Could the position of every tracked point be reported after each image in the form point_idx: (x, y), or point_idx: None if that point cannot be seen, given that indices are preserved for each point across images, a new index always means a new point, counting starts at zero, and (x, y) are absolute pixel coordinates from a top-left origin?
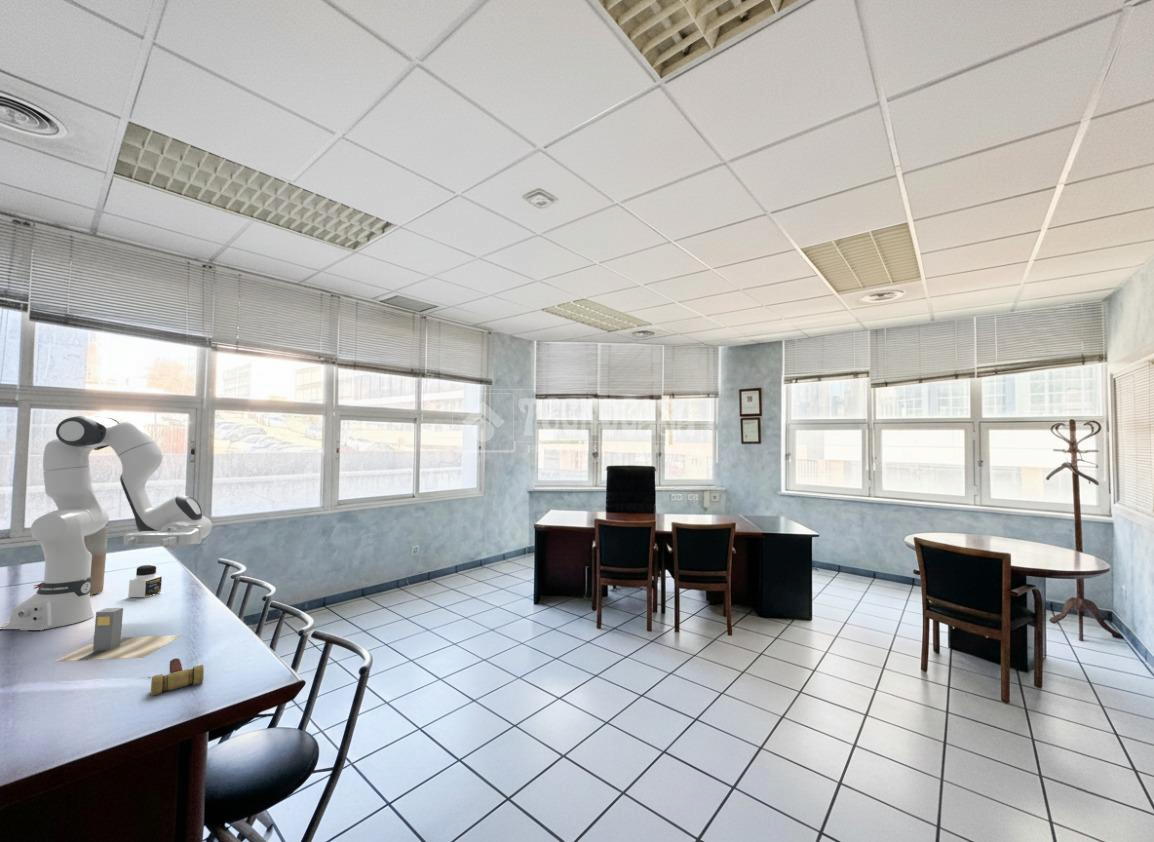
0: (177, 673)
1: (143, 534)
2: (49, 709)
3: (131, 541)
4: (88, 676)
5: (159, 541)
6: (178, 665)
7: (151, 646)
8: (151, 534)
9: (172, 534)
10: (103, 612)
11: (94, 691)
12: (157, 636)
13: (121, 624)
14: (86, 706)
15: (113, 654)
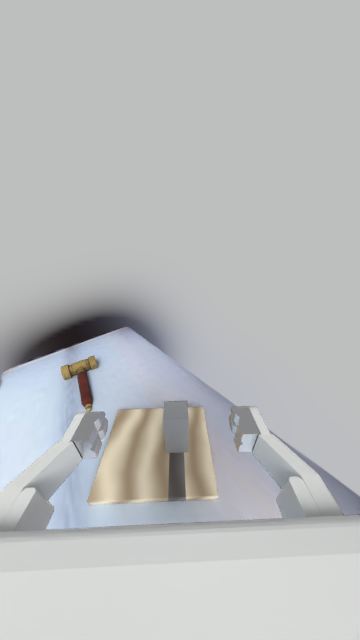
0: (79, 361)
1: (290, 532)
2: (147, 355)
3: (231, 408)
4: (154, 390)
5: (104, 415)
6: (80, 381)
7: (121, 443)
8: (212, 532)
9: (9, 538)
10: (177, 401)
11: (134, 370)
12: (128, 496)
13: (164, 435)
14: (129, 356)
15: (154, 419)
